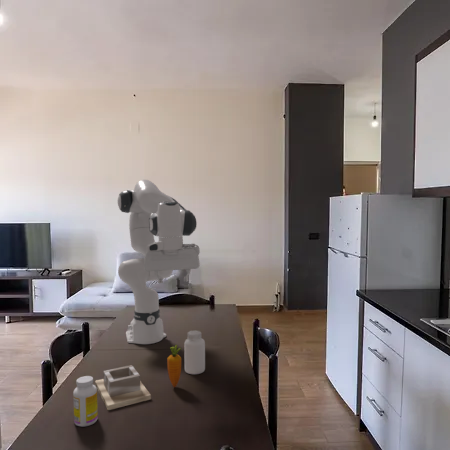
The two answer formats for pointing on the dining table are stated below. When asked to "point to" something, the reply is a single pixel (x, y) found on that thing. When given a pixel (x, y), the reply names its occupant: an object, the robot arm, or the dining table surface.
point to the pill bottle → (194, 353)
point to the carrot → (174, 366)
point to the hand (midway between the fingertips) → (173, 282)
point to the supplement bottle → (85, 402)
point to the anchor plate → (121, 387)
